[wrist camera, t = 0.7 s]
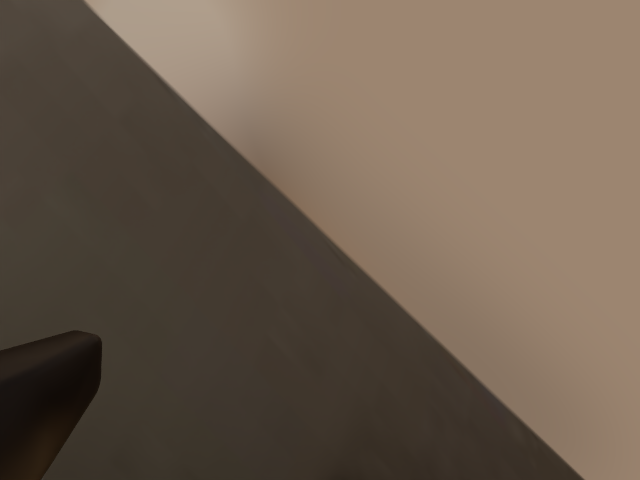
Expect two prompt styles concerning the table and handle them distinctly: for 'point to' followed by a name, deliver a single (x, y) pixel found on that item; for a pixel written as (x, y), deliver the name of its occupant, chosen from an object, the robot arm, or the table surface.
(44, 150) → the table surface
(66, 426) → the robot arm
